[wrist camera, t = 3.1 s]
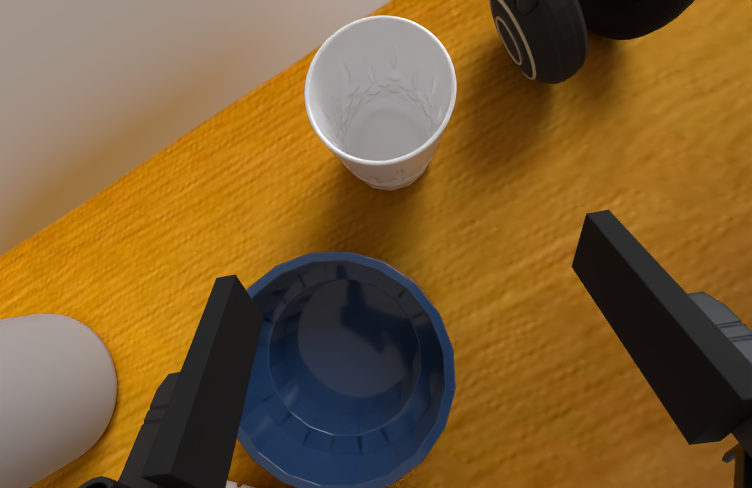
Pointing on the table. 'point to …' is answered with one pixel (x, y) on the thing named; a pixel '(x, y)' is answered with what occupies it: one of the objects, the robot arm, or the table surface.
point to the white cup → (381, 98)
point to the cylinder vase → (50, 395)
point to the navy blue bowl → (345, 373)
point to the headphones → (572, 29)
